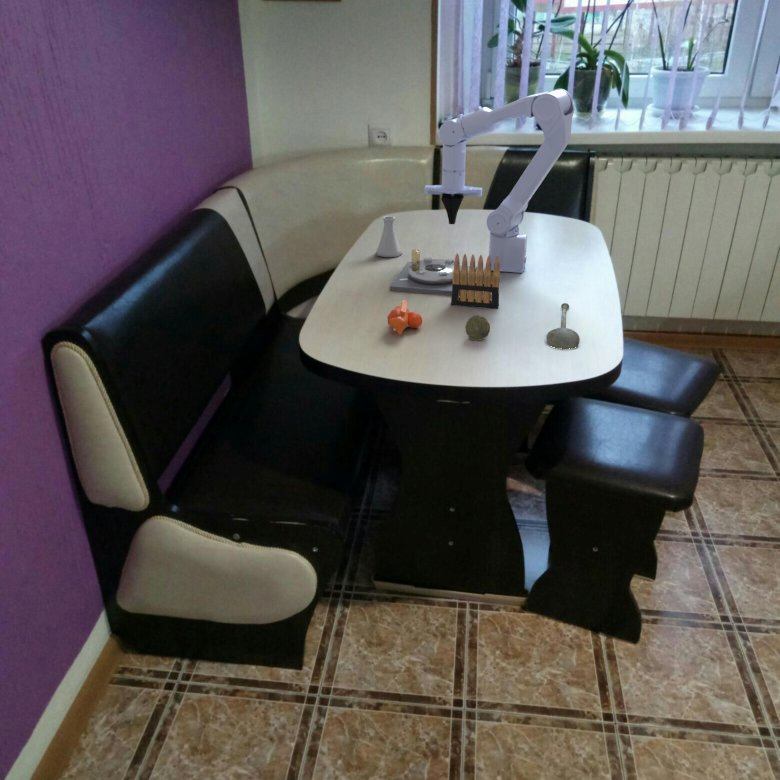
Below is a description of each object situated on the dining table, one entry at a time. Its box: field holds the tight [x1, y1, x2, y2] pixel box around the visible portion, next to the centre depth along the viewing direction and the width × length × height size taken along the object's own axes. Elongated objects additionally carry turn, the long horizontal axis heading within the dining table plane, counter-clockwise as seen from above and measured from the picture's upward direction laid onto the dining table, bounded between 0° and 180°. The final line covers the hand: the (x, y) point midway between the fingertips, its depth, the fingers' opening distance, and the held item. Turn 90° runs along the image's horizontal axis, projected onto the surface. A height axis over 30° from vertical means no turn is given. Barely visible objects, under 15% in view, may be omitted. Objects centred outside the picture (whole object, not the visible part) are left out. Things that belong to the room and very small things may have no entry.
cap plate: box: [389, 261, 478, 296], centre depth 179 cm, size 18×18×1 cm
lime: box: [464, 314, 491, 341], centre depth 148 cm, size 4×5×5 cm
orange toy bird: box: [386, 299, 423, 336], centre depth 153 cm, size 5×8×12 cm
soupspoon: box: [546, 302, 581, 350], centre depth 153 cm, size 22×3×7 cm
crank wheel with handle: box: [409, 248, 462, 285], centre depth 177 cm, size 13×13×7 cm
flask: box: [375, 215, 403, 258], centre depth 194 cm, size 7×7×10 cm
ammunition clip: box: [450, 253, 501, 310], centre depth 161 cm, size 11×2×12 cm, turn 76°
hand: (452, 223), depth 188 cm, fingers closed
